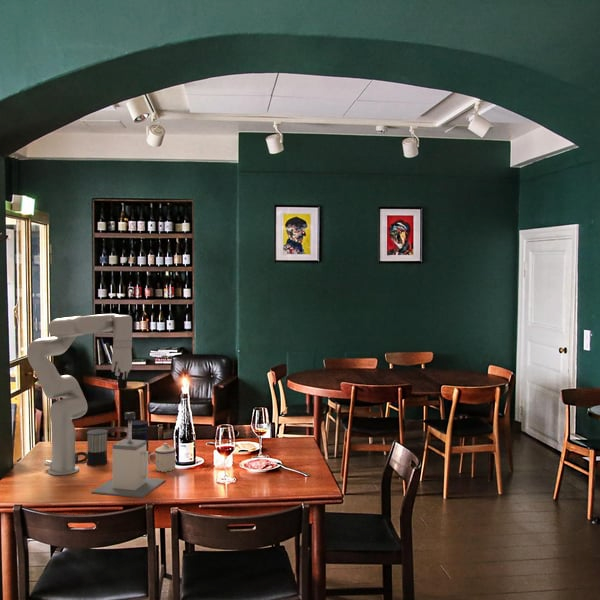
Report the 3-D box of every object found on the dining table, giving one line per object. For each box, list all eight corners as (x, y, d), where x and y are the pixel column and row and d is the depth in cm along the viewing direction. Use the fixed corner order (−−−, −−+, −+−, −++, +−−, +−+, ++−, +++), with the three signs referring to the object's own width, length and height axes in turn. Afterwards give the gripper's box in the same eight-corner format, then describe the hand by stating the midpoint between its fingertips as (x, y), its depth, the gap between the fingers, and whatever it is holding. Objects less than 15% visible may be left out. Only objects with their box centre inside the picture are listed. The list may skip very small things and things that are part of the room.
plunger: (122, 458, 266) (123, 413, 265) (127, 456, 270) (127, 411, 269) (132, 459, 265) (132, 414, 265) (136, 456, 269) (136, 412, 269)
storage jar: (141, 456, 313) (141, 425, 312) (123, 454, 316) (123, 423, 315) (152, 451, 322) (152, 421, 322) (134, 449, 325) (135, 419, 325)
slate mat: (91, 493, 260) (91, 491, 260) (117, 476, 281) (117, 475, 281) (142, 497, 255) (142, 496, 255) (165, 480, 277) (165, 479, 277)
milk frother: (108, 465, 297) (108, 433, 297) (71, 468, 292) (71, 435, 291) (105, 457, 311) (105, 426, 310) (70, 460, 305) (70, 428, 304)
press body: (112, 488, 264) (112, 444, 264) (123, 480, 274) (124, 438, 273) (141, 490, 262) (142, 447, 261) (152, 483, 272) (152, 440, 271)
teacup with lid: (177, 466, 298) (177, 441, 297) (173, 472, 288) (173, 446, 288) (151, 465, 298) (151, 440, 297) (146, 471, 289) (146, 445, 288)
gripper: (122, 342, 282) (122, 384, 283) (105, 346, 268) (105, 390, 268) (138, 343, 281) (138, 385, 282) (122, 346, 266) (122, 391, 267)
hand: (122, 388), depth 275 cm, fingers closed
